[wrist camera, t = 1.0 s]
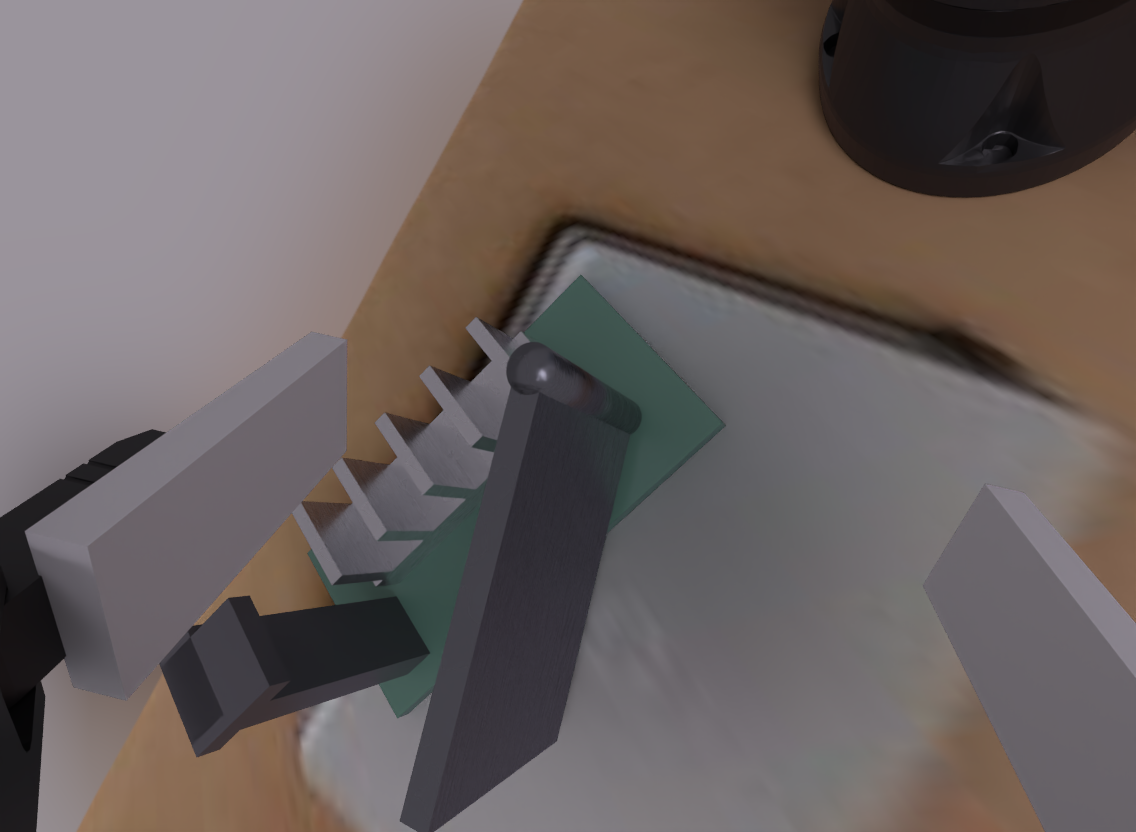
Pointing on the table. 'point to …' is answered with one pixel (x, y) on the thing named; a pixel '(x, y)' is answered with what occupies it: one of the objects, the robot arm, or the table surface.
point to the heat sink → (415, 476)
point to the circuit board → (653, 454)
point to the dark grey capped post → (283, 662)
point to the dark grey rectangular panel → (522, 584)
